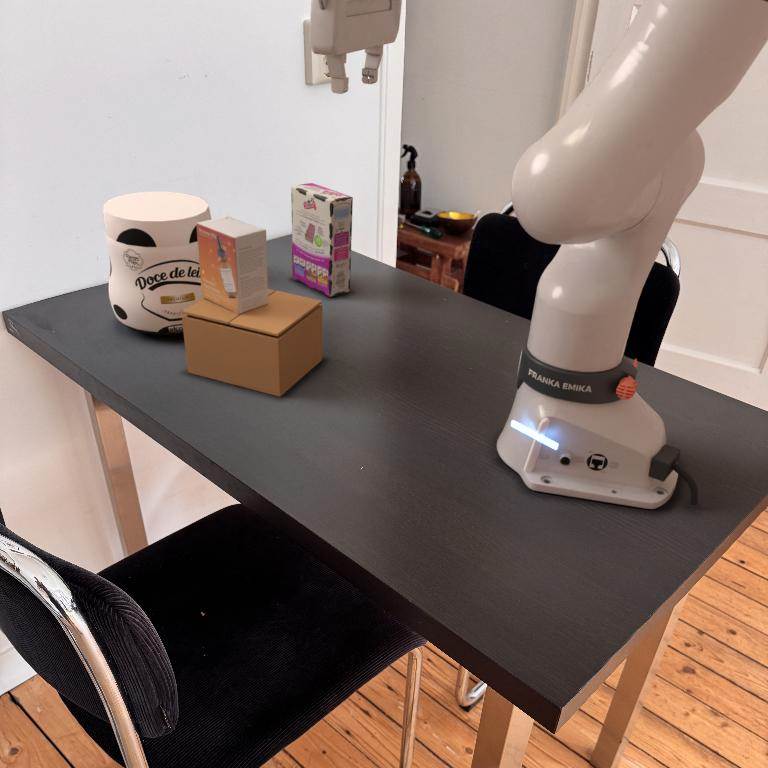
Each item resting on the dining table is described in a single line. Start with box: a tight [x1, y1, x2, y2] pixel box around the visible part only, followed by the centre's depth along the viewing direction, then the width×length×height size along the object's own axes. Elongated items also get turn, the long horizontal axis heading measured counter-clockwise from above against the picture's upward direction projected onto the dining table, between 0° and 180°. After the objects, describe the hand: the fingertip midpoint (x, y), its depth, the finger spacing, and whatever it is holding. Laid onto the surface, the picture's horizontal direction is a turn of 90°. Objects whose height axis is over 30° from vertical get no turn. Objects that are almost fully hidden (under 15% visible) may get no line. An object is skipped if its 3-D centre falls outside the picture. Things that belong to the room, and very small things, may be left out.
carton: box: [182, 288, 323, 398], centre depth 112 cm, size 15×13×9 cm
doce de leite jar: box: [102, 190, 212, 336], centre depth 121 cm, size 17×17×18 cm
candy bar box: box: [290, 182, 354, 298], centre depth 137 cm, size 11×5×16 cm, turn 43°
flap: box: [229, 290, 323, 336], centre depth 109 cm, size 7×13×1 cm, turn 157°
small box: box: [196, 215, 269, 314], centre depth 107 cm, size 8×6×10 cm
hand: (355, 88), depth 105 cm, fingers open, 8 cm apart
